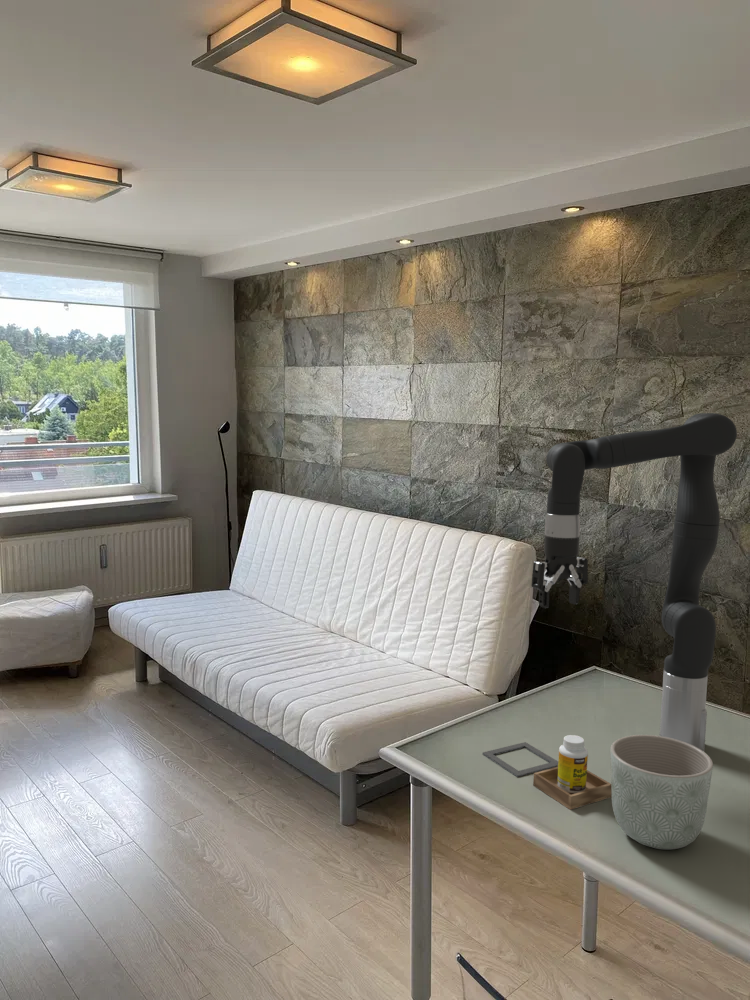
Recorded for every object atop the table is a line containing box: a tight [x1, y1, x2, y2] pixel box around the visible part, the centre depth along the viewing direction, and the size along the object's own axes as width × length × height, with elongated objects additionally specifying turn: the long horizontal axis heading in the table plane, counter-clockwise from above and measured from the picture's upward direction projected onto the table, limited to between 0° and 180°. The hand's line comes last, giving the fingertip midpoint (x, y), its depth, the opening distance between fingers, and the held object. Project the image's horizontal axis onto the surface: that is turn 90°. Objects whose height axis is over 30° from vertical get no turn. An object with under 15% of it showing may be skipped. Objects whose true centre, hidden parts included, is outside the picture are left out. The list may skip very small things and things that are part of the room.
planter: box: [610, 734, 714, 851], centre depth 136 cm, size 17×17×15 cm
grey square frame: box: [482, 741, 558, 778], centre depth 166 cm, size 12×12×1 cm
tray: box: [532, 766, 612, 810], centre depth 152 cm, size 11×11×3 cm
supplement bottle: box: [557, 734, 589, 794], centre depth 152 cm, size 6×6×10 cm
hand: (559, 605), depth 171 cm, fingers open, 8 cm apart
